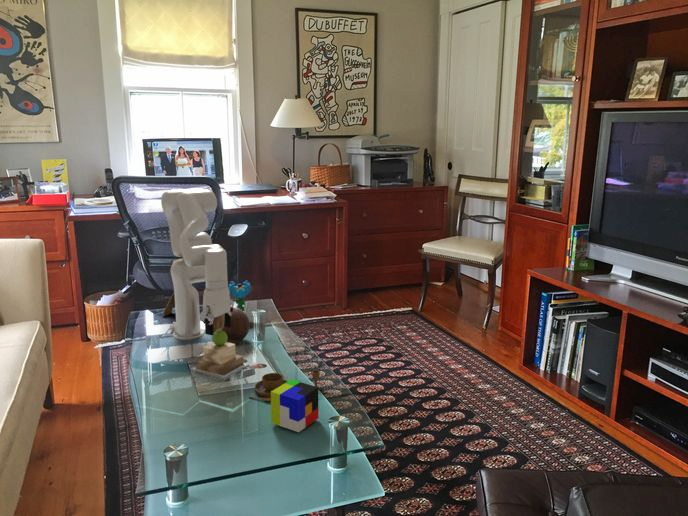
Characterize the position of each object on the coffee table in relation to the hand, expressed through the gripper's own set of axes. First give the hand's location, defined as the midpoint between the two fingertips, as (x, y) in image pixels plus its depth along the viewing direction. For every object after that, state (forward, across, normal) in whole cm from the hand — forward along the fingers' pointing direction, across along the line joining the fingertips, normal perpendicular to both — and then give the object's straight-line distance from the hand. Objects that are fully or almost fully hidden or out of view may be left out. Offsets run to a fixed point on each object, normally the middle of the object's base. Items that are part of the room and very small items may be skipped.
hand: (218, 330), depth 206 cm
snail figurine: (+6, -1, 0) cm, 6 cm away
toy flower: (+15, -46, -26) cm, 54 cm away
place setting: (+15, +4, +30) cm, 34 cm away
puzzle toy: (+15, +19, +44) cm, 50 cm away
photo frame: (+15, -37, -54) cm, 67 cm away
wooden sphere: (+15, -22, -12) cm, 29 cm away
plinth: (+14, 0, 0) cm, 14 cm away
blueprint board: (+15, 0, 0) cm, 15 cm away
